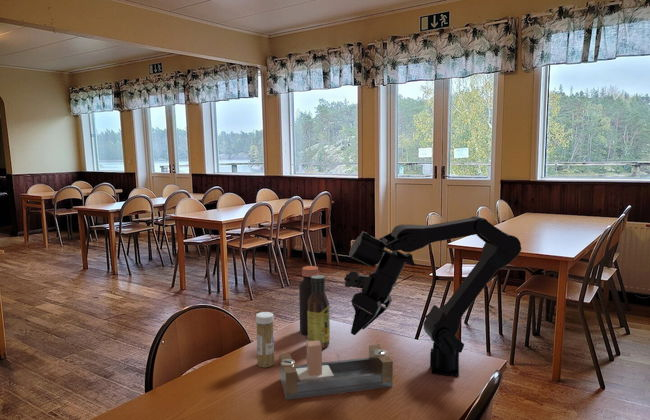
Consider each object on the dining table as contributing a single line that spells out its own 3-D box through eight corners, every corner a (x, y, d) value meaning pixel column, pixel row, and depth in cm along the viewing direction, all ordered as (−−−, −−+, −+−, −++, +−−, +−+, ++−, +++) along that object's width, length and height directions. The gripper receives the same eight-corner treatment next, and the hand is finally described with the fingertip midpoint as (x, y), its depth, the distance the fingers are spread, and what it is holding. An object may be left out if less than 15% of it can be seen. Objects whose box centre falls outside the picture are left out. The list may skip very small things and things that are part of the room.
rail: (379, 367, 122) (379, 342, 121) (393, 386, 112) (394, 359, 111) (278, 379, 116) (278, 352, 115) (284, 400, 107) (284, 371, 106)
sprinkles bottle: (274, 367, 123) (273, 316, 121) (256, 368, 122) (255, 317, 120) (274, 359, 127) (273, 310, 125) (256, 360, 126) (255, 311, 125)
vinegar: (295, 331, 147) (294, 267, 144) (313, 326, 151) (312, 264, 148) (308, 338, 141) (307, 271, 139) (326, 332, 146) (326, 268, 143)
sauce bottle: (329, 350, 133) (329, 280, 130) (307, 350, 133) (306, 280, 131) (329, 340, 139) (329, 273, 137) (308, 340, 140) (307, 273, 137)
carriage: (328, 372, 116) (327, 337, 115) (333, 382, 111) (333, 346, 110) (295, 375, 115) (295, 340, 114) (299, 386, 109) (299, 349, 108)
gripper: (366, 258, 127) (339, 310, 128) (347, 258, 109) (317, 319, 110) (403, 278, 123) (376, 332, 124) (391, 282, 106) (359, 344, 106)
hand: (357, 331), depth 116 cm, fingers open, 9 cm apart
